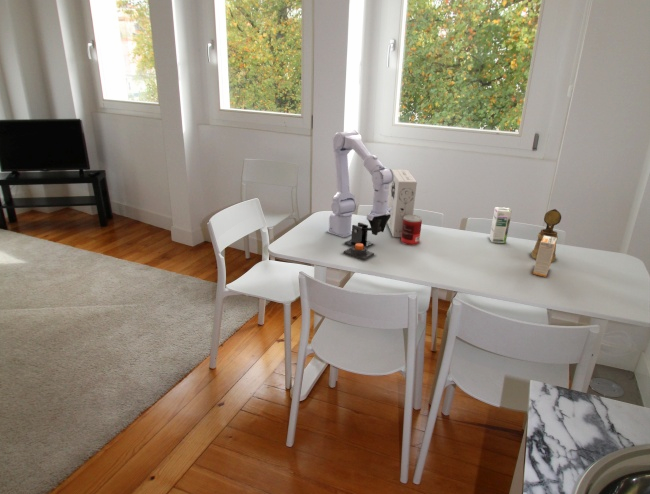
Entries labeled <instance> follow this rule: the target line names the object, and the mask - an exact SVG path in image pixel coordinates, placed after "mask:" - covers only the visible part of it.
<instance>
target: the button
mask: <svg viewBox="0 0 650 494" xmlns="http://www.w3.org/2000/svg"><path fill="white" fill-rule="evenodd" d="M355 249H357V250H363V244H361V243H357V244H355Z"/></svg>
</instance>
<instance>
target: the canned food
mask: <svg viewBox="0 0 650 494" xmlns="http://www.w3.org/2000/svg"><path fill="white" fill-rule="evenodd" d="M422 222H423V218H422V216H420V215H417V214H413V215H405V216H404V218H403V227H402V236H401V237H400V241H401V243H402V244H404V245H408V246H415V245H418V244H419V243H420V238H421V231H422V224H423V223H422Z"/></svg>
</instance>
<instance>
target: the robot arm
mask: <svg viewBox="0 0 650 494" xmlns="http://www.w3.org/2000/svg"><path fill="white" fill-rule="evenodd" d="M332 145H333V153H334V166H335V167H334V168H335V180H336V181H335V182H336V193H335V194H334V195H333V197H332V198H331V199H332V200H331V201H332V202H331V214H330V215H329V219H328V222H329V223H328V231H327V233H329V234H332V235H335V236H338V237H341V238H347V237H349V236H352V219H353V217H352V216H353V215H354V212H356V210H357V202H356V199H355V195H354V194H353V193H352V192H351V191H350V175H349V160H348V155H349V154H350V152H351V151H352V150H353V151H354V152H355V153H356V154H357V155H358V156H359V157H360V159H361V160H362V161H363V167H364V168H365V169H366V170H367V172H368V173H369V174H370V176H371V182H372V187H373V197H372V198H373V199H372V209H371V211H369V213H367V215H366V220H367V221H368V223H369V226H370V228H371V231H370V232H371V234H372V235H375V236H378V234H379V233H378V230H379V226H381V228H382V230H381V232H380V233H384V232H385V230H386V229H385V228H386V226H387V225H388V223H387V221H388V220H389V218H390V217H391V215H390V214H389V212H391V208H392V207H388V199H389V188H390V183H391V182H392V181H393V178H394V175H393V172H392V168H389V167H386V166H384V165H383V163H382V162H381V161H380V159H379V157H378V156H377V155H375V154H371V153H370V151H369V150H368V148H367V147H366V145H365V144H364V143H363V140H362V135H361V134H360V133H359V131H358V130H352V131H351V130H349V131H337V132H336V133H335V134H334V136H333V137H332Z"/></svg>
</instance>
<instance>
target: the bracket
mask: <svg viewBox="0 0 650 494" xmlns="http://www.w3.org/2000/svg"><path fill="white" fill-rule="evenodd" d="M359 226H364V228H369V225H368V224H365V223H362V222H360V221H359V222H357V225H356V224H351V231H352V234H351V239H349V240H347V241H345V242H344V245H345V246H348V247H350V248H351V247H352V246H354V245H355V244H357V243H361V244H363V246H365V247H367V249H368V248H370V247H372V246H373V245H374V242H371V241H368V231H364V232H362V227H359Z"/></svg>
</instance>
